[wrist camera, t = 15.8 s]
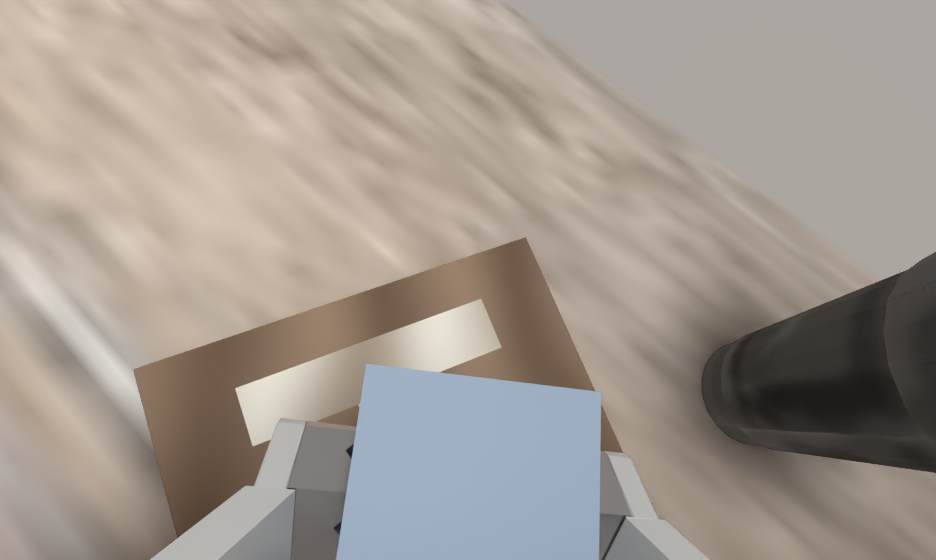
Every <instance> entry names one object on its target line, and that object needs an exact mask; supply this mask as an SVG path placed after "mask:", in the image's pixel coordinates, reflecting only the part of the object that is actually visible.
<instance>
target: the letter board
mask: <svg viewBox="0 0 936 560" xmlns="http://www.w3.org/2000/svg"><path fill="white" fill-rule="evenodd" d="M366 364H373V365H382V366H390V367H398V368H406V369H415V370H423V371H431V372H440V373H448V374H456V375H464V376H473V377H481V378H489V379H498V380H506V381H514V382H522V383H531V384H539V385H547V386H556V387H564V388H572V389H580V390H589V391H595V390H594V388H593V386H592V383H591V381H590V379H589V377H588V374H587V372H586V370H585V368H584V366H583V363H582V361H581V359H580V357H579V355H578V352H577V350H576V348H575V346H574V343H573V341H572V339H571V337H570V335H569V332H568V330H567V328H566V326H565V324H564V321H563V319H562V317H561V315H560V312H559V310H558V308H557V306H556V304H555V301H554V299H553V297H552V295H551V293H550V290H549V288H548V286H547V284H546V281H545V279H544V277H543V275H542V273H541V270H540V268H539V266H538V264H537V262H536V259H535V257H534V255H533V253H532V250H531V248H530V246H529V244H528V242H527V239H526V237H525V238H522V239H520V240H517V241H514V242H511V243H508V244H505V245H502V246H499V247H496V248H493V249H490V250H487V251H484V252H481V253H478V254H475V255H472V256H469V257H466V258H463V259H460V260H457V261H454V262H451V263H448V264H445V265H442V266H439V267H436V268H433V269H430V270H427V271H424V272H421V273H419V274H416V275H413V276H410V277H407V278H404V279H401V280H398V281H395V282H392V283H389V284H386V285H383V286H380V287H377V288H374V289H371V290H368V291H365V292H362V293H359V294H356V295H353V296H350V297H347V298H344V299H341V300H338V301H335V302H332V303H329V304H326V305H323V306H320V307H318V308H315V309H312V310H309V311H306V312H303V313H300V314H297V315H294V316H291V317H288V318H285V319H282V320H279V321H276V322H273V323H270V324H267V325H264V326H261V327H258V328H255V329H252V330H249V331H246V332H243V333H240V334H237V335H234V336H231V337H228V338H225V339H222V340H220V341H217V342H214V343H211V344H208V345H205V346H202V347H199V348H196V349H193V350H190V351H187V352H184V353H181V354H178V355H175V356H172V357H169V358H166V359H163V360H160V361H157V362H154V363H151V364H148V365H145V366H142V367H139V368H136V369H133V371H134V375H135V378H136V382H137V386H138V390H139V394H140V397H141V401H142V405H143V409H144V412H145V416H146V420H147V424H148V428H149V431H150V435H151V439H152V443H153V447H154V450H155V454H156V458H157V462H158V466H159V469H160V473H161V477H162V481H163V484H164V488H165V492H166V496H167V500H168V503H169V507H170V511H171V515H172V519H173V522H174V526H175V530H176V534H177V538H178V537H180V536H181V535H182V534H184V533H185V532H186V531H187V530H189V529H190V528H191V527H193V526H194V525H195V524H197V523H198V522H199V521H200V520H202V519H203V518H204V517H206V516H207V515H208V514H209V513H211V512H212V511H213V510H215V509H216V508H217V507H218V506H220V505H221V504H222V503H224V502H225V501H226V500H228V499H229V498H230V497H231V496H233V495H234V494H235V493H237V492H238V491H239V490H240V489H242V488H243V487H244V486H254V484H255V482H256V479H257V476H258V473H259V471H260V468H261V465H262V463H263V460H264V457H265V454H266V452H267V449H268V446H269V443H270V441H271V438H272V435H273V432H274V430H275V427H276V424H277V423H278V421H279V420H280V418H286V419H294V420H301V421H314V422H322V423H330V424H338V425H346V426H354V427H357V421H358V414H359V408H360V401H361V395H362V388H363V382H364V375H365V369H366ZM600 451H601V452H602V451H608V452H619V453H623V452H622V450H621V447H620V445H619V443H618V441H617V439H616V436H615V434H614V432H613V430H612V428H611V425H610V423H609V421H608V419H607V416H606V414H605V412H604V410H603V408H602V405H601V443H600ZM290 560H293V559H290Z"/></svg>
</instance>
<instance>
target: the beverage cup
mask: <svg viewBox="0 0 936 560" xmlns="http://www.w3.org/2000/svg"><path fill="white" fill-rule="evenodd" d="M702 390H703V398H704V401H705V404H706V407H707V410H708V412H709V414H710V415H711V417H712V418H713V420H714V421H715V423H716V425H717V426H718V427H719V428H720V429H721V430H723V431H724V432H725V433H726V434H727V435H728V436H729V437H731V438H733V439H735V440H737V441H739V442H741V443H744V444H752V445H758V446H763V447H767V448H769V449H773V450H780V451H787V452H794V453H801V454H808V455H815V456H822V457H829V458H836V459H843V460H850V461H857V462H864V463H871V464H878V465H885V466H892V467H899V468H906V469H913V470H920V471H928V472H935V473H936V252H935V253H933V254H931V255H930V256H928V257H926V258H924V259H922V260H921V261H919V262H918V263H917V264H915V265H914V266H913V267H911V268H910V269H908V270H906V271H904V272H901V273H899V274H896V275H894V276H891V277H889V278H886V279H884V280H881V281H879V282H877V283H874V284H872V285H869V286H867V287H864V288H862V289H859V290H857V291H854V292H852V293H849V294H847V295H844V296H842V297H839V298H837V299H835V300H832V301H830V302H827V303H825V304H822V305H820V306H817V307H815V308H812V309H810V310H807V311H805V312H802V313H800V314H798V315H795V316H793V317H790V318H788V319H785V320H783V321H780V322H778V323H775V324H773V325H770V326H768V327H765V328H763V329H761V330H758V331H756V332H753V333H751V334H748V335H746V336H744V337H743V338H741V339H740V340H738V341H736V342H734V343H732V344H730V345H726V346H723V347H722V348H720V349H719V350H718V351H716V352H715V353H713V355H712V356H711V358H710V359H709V361H708V362H707V364H706V366H705V369H704V373H703V377H702Z"/></svg>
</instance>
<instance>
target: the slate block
mask: <svg viewBox="0 0 936 560" xmlns="http://www.w3.org/2000/svg"><path fill="white" fill-rule="evenodd" d="M600 443H601V392H597V391H589V390H580V389H572V388H564V387H556V386H547V385H539V384H531V383H522V382H514V381H506V380H498V379H489V378H481V377H473V376H464V375H456V374H448V373H440V372H431V371H423V370H415V369H406V368H398V367H390V366H382V365H373V364H366V369H365V375H364V382H363V388H362V395H361V401H360V408H359V414H358V421H357V427H356V434H355V440H354V447H353V453H352V460H351V466H350V473H349V479H348V485H347V492H346V498H345V505H344V511H343V518H342V524H341V531H340V537H339V544H338V550H337V557H336V560H599V519H600Z"/></svg>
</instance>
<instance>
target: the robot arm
mask: <svg viewBox="0 0 936 560" xmlns="http://www.w3.org/2000/svg"><path fill="white" fill-rule="evenodd" d="M355 434H356V427H354V426H346V425H338V424H330V423H322V422H314V421H301V420H294V419H286V418H280V420H279V421H278V423H277V424H276V427H275V430H274V432H273V435H272V438H271V441H270V443H269V446H268V449H267V452H266V454H265V457H264V460H263V463H262V465H261V468H260V471H259V473H258V476H257V479H256V482H255V484H254V486H244V487H243V488H242V489H240V490H239V491H238V492H237V493H235V494H234V495H233V496H231V497H230V498H229V499H228V500H226V501H225V502H224V503H222V504H221V505H220V506H218V507H217V508H216V509H215V510H213V511H212V512H211V513H209V514H208V515H207V516H206V517H204V518H203V519H202V520H200V521H199V522H198V523H197V524H195V525H194V526H193V527H191V528H190V529H189V530H187V531H186V532H185V533H184V534H182V535H181V536H180V537H178V538H177V539H176V540H175V541H173V542H172V543H171V544H169V545H168V546H167V547H166V548H164V549H163V550H162V551H160V552H159V553H158V554H156V555H155V556H154V557H153V558H151V559H150V560H290V559H293V560H336V557H337V550H338V544H339V537H340V531H341V524H342V518H343V511H344V505H345V498H346V492H347V485H348V479H349V473H350V466H351V460H352V453H353V447H354V440H355ZM599 560H710V559H709V558H707V557H706V556H705V555H704V554H703V553H702V552H701V551H700V550H698V549H697V548H696V547H695V546H694V545H693V544H692V543H691V542H689V541H688V540H687V539H686V538H685V537H684V536H683V535H682V534H680V533H679V532H678V531H677V530H676V529H675V528H674V527H673V526H671V525H670V524H669V523H668V522H667V521H666V520H660V519H658V517H657V515H656V513H655V511H654V508H653V506H652V504H651V502H650V500H649V498H648V495H647V493H646V491H645V489H644V487H643V484H642V482H641V480H640V478H639V476H638V474H637V471H636V469H635V467H634V465H633V463H632V460H631V458H630V457H629V456H628V455H627V454H626V453H619V452H608V451H602V452H601V451H600V519H599Z"/></svg>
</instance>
